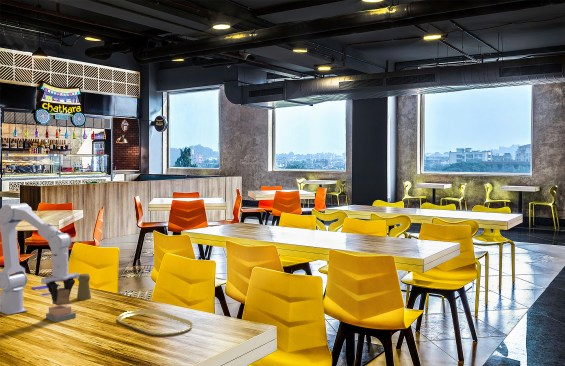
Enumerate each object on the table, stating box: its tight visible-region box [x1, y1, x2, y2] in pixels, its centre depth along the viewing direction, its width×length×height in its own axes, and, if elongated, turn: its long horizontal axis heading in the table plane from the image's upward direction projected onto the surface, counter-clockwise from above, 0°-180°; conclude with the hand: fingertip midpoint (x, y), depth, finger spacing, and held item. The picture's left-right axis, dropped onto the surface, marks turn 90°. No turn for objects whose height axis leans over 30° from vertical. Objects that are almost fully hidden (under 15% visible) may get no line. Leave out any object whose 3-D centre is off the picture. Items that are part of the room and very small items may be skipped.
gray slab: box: [45, 310, 77, 323], centre depth 211 cm, size 8×8×2 cm
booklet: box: [31, 283, 61, 296], centre depth 253 cm, size 12×25×1 cm, turn 40°
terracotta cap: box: [48, 304, 72, 316], centre depth 210 cm, size 6×6×2 cm
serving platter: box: [117, 309, 193, 337], centre depth 204 cm, size 19×35×2 cm, turn 48°
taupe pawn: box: [76, 273, 92, 301], centre depth 241 cm, size 6×6×11 cm
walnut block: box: [52, 287, 70, 306], centre depth 210 cm, size 4×4×6 cm
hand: (60, 299), depth 210 cm, fingers closed on walnut block, 4 cm apart
